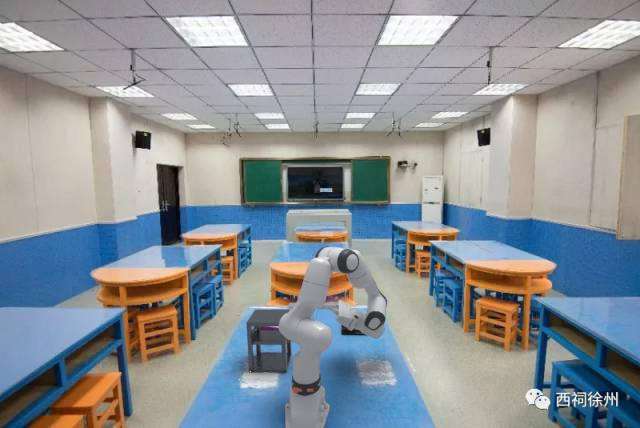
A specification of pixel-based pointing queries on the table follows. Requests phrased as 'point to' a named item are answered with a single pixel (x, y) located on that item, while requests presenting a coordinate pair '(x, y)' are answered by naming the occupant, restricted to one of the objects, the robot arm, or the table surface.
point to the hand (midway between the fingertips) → (329, 305)
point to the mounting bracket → (269, 328)
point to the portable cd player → (348, 332)
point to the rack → (267, 342)
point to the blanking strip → (326, 306)
